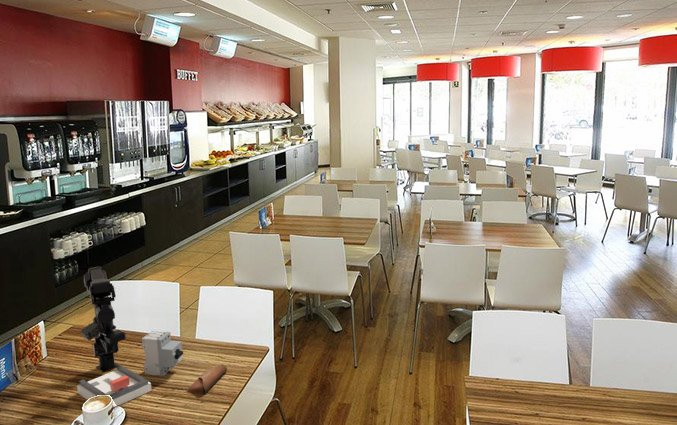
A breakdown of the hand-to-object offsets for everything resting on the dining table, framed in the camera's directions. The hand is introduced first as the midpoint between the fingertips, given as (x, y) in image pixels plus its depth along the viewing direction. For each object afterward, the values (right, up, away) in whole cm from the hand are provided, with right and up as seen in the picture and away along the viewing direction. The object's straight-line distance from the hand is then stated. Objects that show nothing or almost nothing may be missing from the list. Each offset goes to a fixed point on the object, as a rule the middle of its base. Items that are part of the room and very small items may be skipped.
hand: (108, 352), depth 207 cm
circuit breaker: (+19, -10, +10) cm, 24 cm away
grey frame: (+4, -10, -5) cm, 12 cm away
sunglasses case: (+37, -12, +1) cm, 39 cm away
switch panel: (+4, -13, -5) cm, 15 cm away
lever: (+8, -13, -8) cm, 17 cm away
